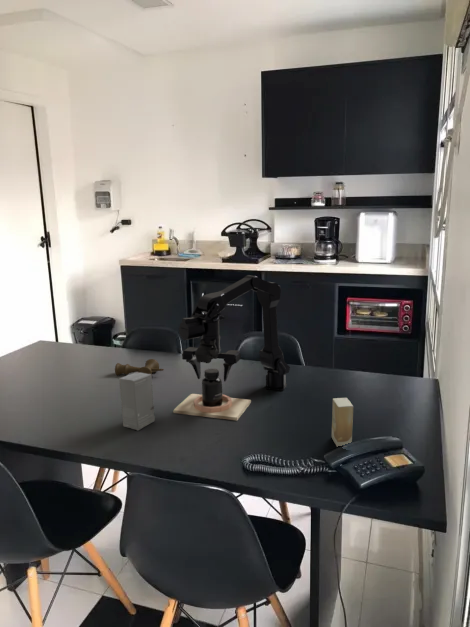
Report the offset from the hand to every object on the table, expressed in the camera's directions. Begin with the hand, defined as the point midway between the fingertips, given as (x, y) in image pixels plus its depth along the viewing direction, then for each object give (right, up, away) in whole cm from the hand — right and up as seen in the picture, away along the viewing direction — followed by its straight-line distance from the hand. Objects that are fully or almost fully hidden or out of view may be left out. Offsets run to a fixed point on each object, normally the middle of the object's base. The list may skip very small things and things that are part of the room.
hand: (212, 379), depth 167 cm
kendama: (-30, -3, +35) cm, 47 cm away
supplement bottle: (0, -9, +2) cm, 9 cm away
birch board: (0, -10, +2) cm, 10 cm away
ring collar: (0, -10, +2) cm, 10 cm away
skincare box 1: (-23, -13, -9) cm, 27 cm away
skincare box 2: (+38, -15, -24) cm, 47 cm away
